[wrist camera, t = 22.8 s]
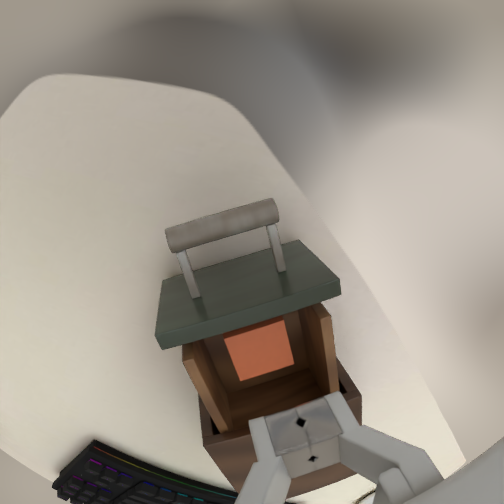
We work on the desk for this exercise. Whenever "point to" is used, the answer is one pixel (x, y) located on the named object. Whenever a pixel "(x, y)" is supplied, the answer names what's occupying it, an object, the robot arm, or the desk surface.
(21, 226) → the desk surface
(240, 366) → the block
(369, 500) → the flower in vase
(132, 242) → the desk surface
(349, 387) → the cabinet
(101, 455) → the keyboard
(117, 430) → the desk surface
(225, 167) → the desk surface
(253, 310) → the drawer
